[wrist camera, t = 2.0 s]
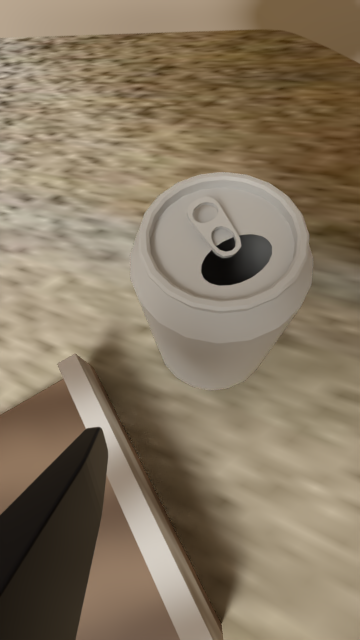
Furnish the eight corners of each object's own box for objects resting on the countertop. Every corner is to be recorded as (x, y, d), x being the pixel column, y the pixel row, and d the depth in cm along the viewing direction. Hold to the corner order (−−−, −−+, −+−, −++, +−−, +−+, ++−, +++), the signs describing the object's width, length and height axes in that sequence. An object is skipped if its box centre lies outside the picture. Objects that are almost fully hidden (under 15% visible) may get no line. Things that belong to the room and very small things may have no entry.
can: (196, 414, 20) (191, 371, 9) (140, 326, 23) (84, 209, 12) (286, 354, 21) (379, 251, 10) (223, 277, 24) (243, 130, 13)
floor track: (221, 624, 16) (227, 669, 13) (-7, 803, 14) (-69, 911, 11) (93, 367, 22) (75, 353, 18) (-80, 467, 20) (-134, 471, 16)
